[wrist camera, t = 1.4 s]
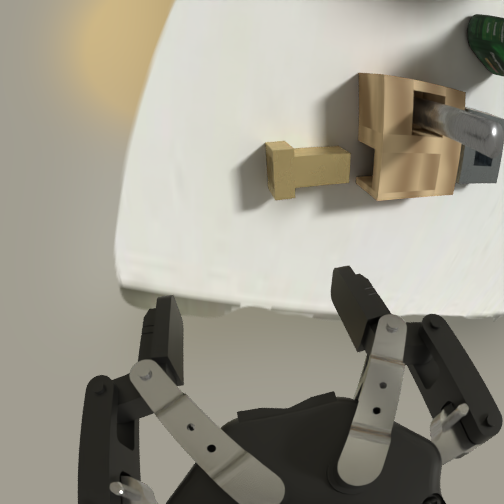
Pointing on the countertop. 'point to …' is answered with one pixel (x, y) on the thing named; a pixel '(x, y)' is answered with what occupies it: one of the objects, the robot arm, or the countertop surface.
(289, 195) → the block
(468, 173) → the grey square holed block
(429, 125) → the cylinder
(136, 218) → the countertop surface
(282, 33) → the countertop surface
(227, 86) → the countertop surface
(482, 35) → the coffee jar
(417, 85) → the socket block
